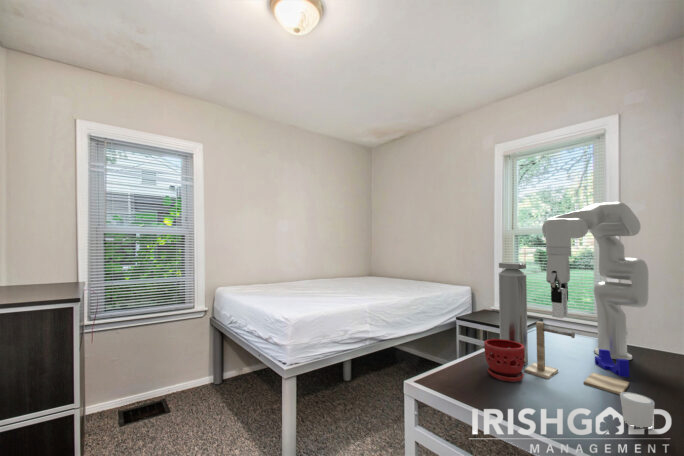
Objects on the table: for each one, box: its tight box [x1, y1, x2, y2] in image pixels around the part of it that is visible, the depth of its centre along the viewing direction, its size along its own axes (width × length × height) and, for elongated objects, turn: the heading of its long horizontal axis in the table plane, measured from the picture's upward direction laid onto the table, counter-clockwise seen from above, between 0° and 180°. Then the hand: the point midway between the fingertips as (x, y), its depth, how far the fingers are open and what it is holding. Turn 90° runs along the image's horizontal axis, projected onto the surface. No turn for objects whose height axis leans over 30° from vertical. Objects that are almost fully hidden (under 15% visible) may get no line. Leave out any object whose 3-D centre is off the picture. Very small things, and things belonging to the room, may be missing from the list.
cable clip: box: [594, 349, 630, 378], centre depth 121 cm, size 12×4×6 cm, turn 170°
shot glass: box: [619, 391, 655, 428], centre depth 84 cm, size 7×7×7 cm
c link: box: [551, 288, 569, 319], centre depth 115 cm, size 6×3×10 cm, turn 129°
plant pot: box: [483, 338, 525, 382], centre depth 114 cm, size 13×13×12 cm
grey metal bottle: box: [498, 261, 529, 367], centre depth 129 cm, size 10×10×40 cm
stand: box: [523, 320, 576, 380], centre depth 116 cm, size 10×15×18 cm
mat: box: [583, 372, 630, 395], centre depth 108 cm, size 12×10×1 cm
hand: (559, 300), depth 115 cm, fingers closed on c link, 6 cm apart
